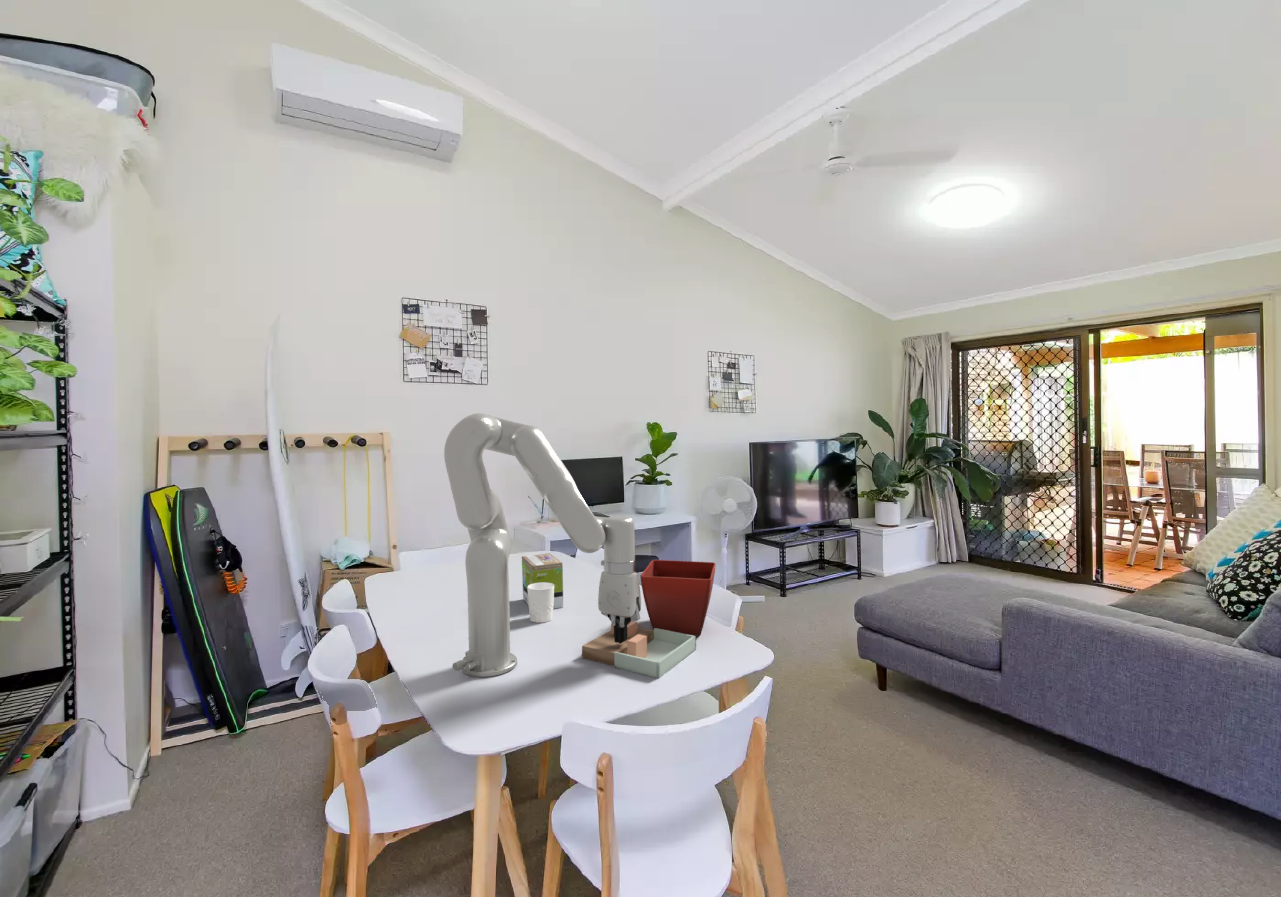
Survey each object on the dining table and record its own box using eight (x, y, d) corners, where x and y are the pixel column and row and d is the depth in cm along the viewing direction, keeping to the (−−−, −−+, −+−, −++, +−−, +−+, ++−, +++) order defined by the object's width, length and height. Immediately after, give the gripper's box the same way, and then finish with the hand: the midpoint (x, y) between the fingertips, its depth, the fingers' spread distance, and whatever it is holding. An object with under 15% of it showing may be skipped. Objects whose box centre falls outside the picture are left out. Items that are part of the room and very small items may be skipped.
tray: (658, 678, 128) (658, 663, 128) (614, 667, 134) (614, 652, 134) (696, 649, 144) (695, 636, 144) (655, 641, 151) (654, 627, 151)
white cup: (522, 621, 167) (521, 587, 167) (539, 613, 174) (538, 581, 174) (543, 625, 164) (543, 590, 163) (560, 617, 171) (559, 584, 170)
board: (615, 666, 135) (615, 653, 135) (582, 657, 140) (581, 645, 140) (653, 641, 150) (653, 630, 150) (622, 635, 155) (622, 624, 155)
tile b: (627, 637, 146) (627, 627, 145) (611, 633, 148) (611, 624, 148) (637, 631, 150) (637, 621, 150) (621, 627, 152) (621, 618, 152)
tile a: (627, 661, 136) (636, 663, 135) (627, 640, 136) (636, 642, 135) (638, 654, 140) (646, 656, 139) (638, 634, 140) (646, 636, 139)
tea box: (521, 599, 189) (521, 555, 189) (551, 595, 193) (550, 552, 193) (533, 612, 176) (532, 564, 175) (564, 607, 180) (563, 561, 179)
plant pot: (711, 642, 150) (710, 578, 149) (640, 637, 153) (639, 575, 153) (716, 618, 168) (716, 562, 168) (652, 615, 172) (652, 559, 172)
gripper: (585, 567, 140) (587, 640, 141) (637, 574, 132) (638, 652, 133) (603, 560, 147) (604, 631, 147) (653, 567, 139) (654, 641, 139)
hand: (620, 641), depth 140 cm, fingers closed
